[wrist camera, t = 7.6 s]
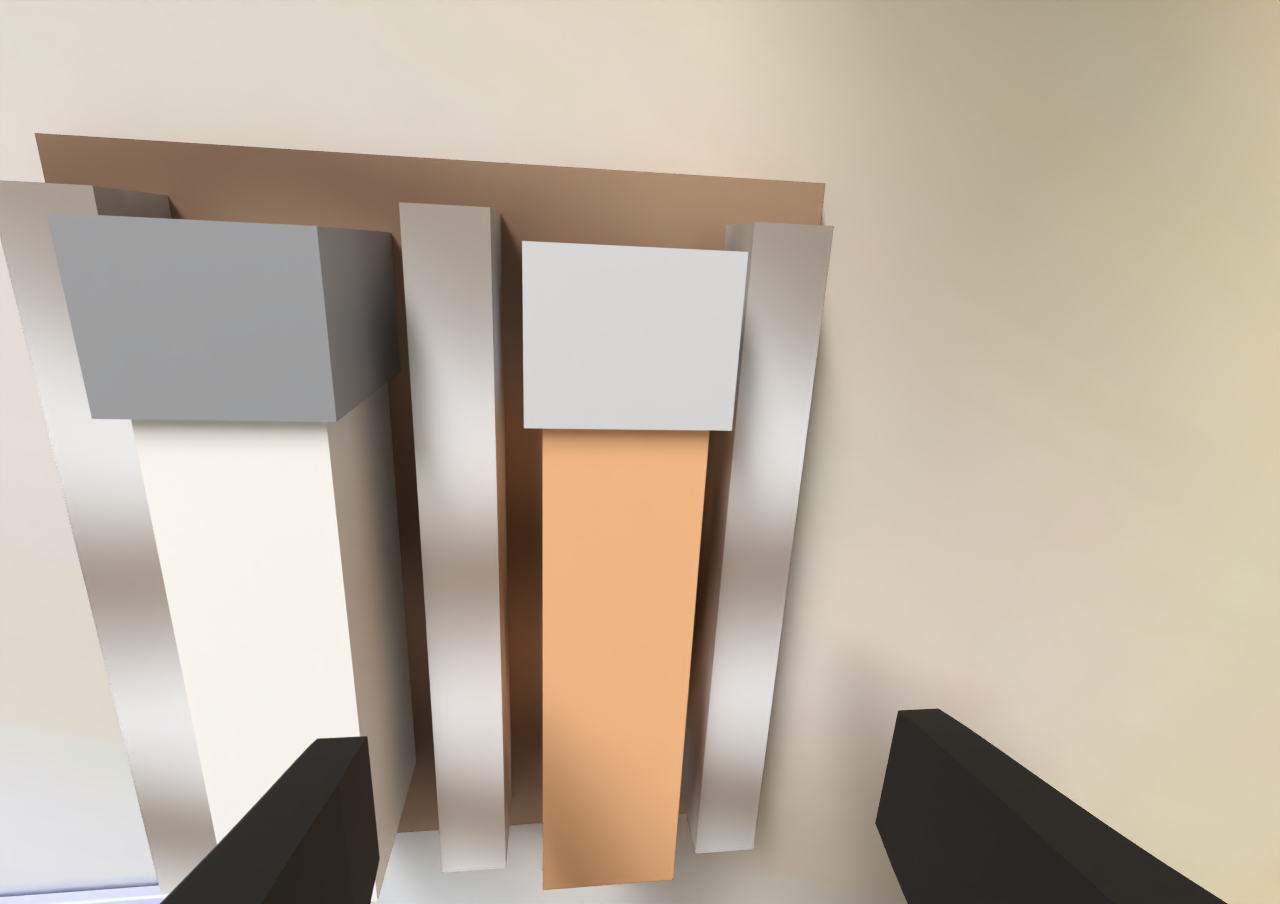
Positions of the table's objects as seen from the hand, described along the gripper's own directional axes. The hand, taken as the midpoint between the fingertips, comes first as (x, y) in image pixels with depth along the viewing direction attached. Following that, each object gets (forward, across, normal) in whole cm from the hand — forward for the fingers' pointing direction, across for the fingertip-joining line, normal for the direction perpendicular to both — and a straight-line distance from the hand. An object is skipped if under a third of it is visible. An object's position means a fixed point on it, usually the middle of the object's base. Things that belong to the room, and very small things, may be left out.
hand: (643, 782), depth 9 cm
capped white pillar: (+8, +7, 0) cm, 10 cm away
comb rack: (+9, +3, 0) cm, 9 cm away
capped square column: (+8, 0, 0) cm, 8 cm away
